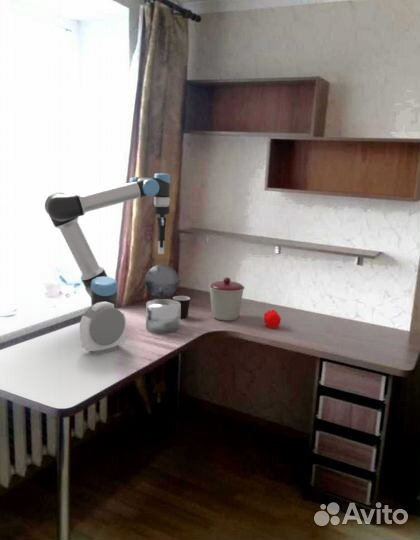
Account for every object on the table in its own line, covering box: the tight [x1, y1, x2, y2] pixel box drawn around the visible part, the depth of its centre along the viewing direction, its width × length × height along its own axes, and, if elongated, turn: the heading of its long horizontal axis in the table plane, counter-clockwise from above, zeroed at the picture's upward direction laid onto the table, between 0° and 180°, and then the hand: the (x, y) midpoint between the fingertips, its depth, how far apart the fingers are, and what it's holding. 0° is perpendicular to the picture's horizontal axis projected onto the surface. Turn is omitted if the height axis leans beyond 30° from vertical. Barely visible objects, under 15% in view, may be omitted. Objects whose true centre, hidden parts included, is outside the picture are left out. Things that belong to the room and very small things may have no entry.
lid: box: [144, 264, 180, 299], centre depth 243 cm, size 16×16×3 cm
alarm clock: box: [79, 301, 127, 356], centre depth 205 cm, size 18×8×20 cm, turn 133°
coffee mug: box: [172, 295, 191, 320], centre depth 255 cm, size 12×9×10 cm
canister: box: [208, 277, 246, 322], centre depth 254 cm, size 18×18×21 cm
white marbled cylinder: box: [145, 298, 181, 335], centre depth 236 cm, size 16×18×12 cm
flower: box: [263, 309, 282, 329], centre depth 244 cm, size 8×8×8 cm
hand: (161, 253), depth 250 cm, fingers closed
